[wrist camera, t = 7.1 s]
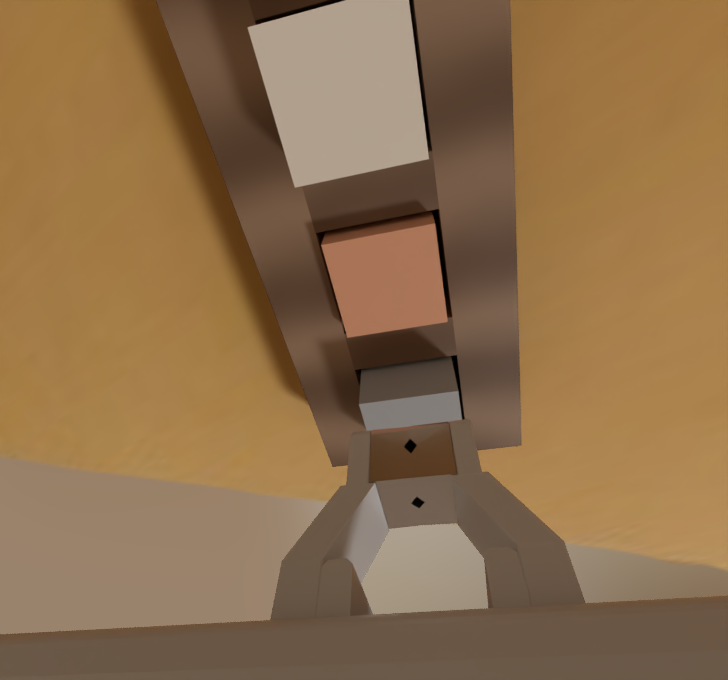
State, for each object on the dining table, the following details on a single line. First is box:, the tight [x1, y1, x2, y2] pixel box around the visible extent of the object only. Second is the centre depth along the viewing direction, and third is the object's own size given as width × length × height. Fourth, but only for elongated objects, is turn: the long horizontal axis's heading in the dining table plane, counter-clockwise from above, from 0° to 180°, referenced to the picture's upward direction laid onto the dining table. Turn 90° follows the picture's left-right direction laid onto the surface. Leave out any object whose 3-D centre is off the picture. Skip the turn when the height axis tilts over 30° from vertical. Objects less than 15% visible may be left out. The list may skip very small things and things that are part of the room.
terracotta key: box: [321, 210, 448, 338], centre depth 22 cm, size 5×5×4 cm
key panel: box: [156, 0, 521, 467], centre depth 23 cm, size 26×12×4 cm, turn 12°
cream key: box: [247, 0, 429, 188], centre depth 17 cm, size 5×5×4 cm
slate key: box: [359, 356, 462, 431], centre depth 25 cm, size 5×5×4 cm
